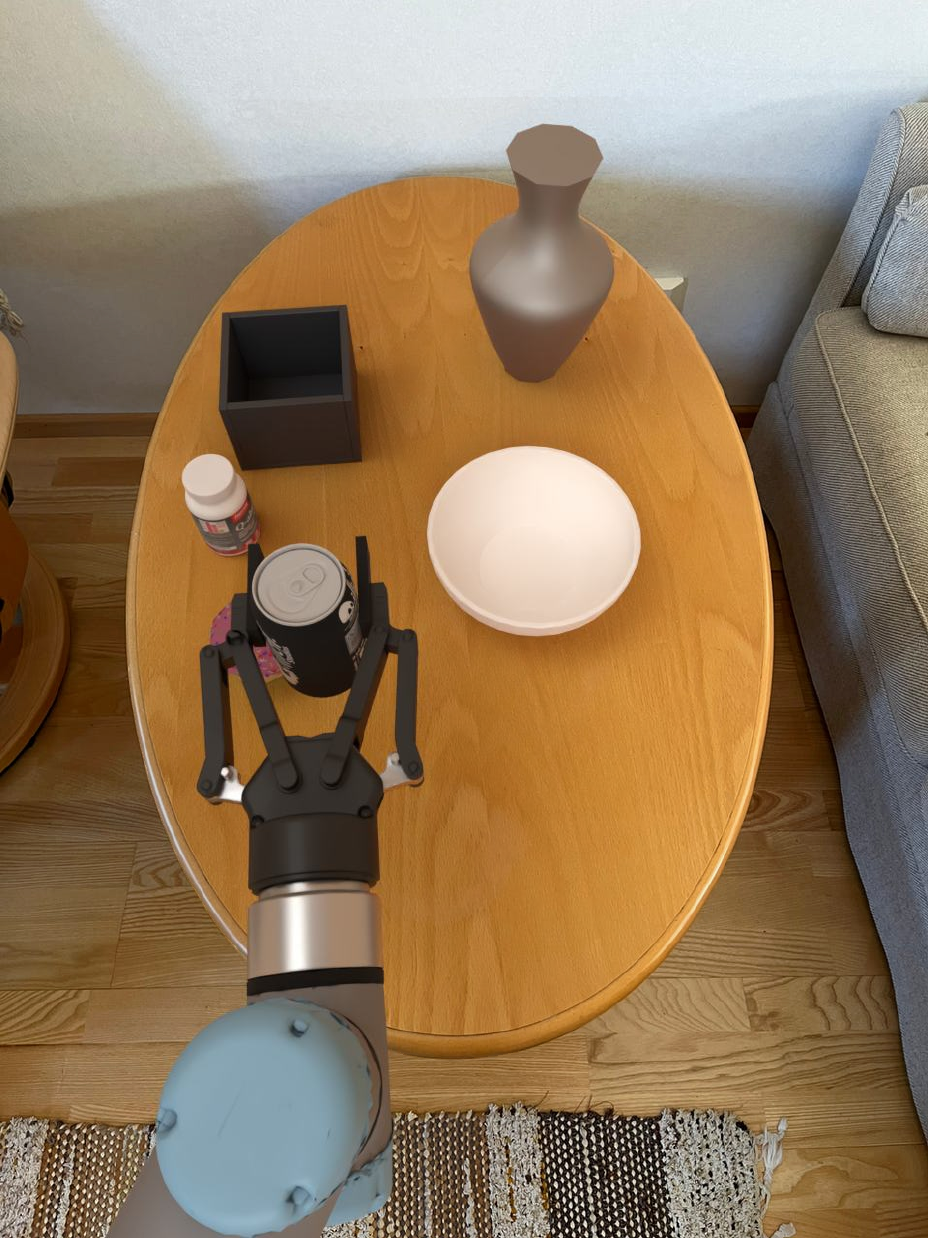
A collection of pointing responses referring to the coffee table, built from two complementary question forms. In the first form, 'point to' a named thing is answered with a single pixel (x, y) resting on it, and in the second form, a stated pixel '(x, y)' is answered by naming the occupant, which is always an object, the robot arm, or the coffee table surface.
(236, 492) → the pill bottle
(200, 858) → the coffee table surface
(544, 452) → the bowl
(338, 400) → the trash bin
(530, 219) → the vase
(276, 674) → the cupcake
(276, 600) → the beverage can
